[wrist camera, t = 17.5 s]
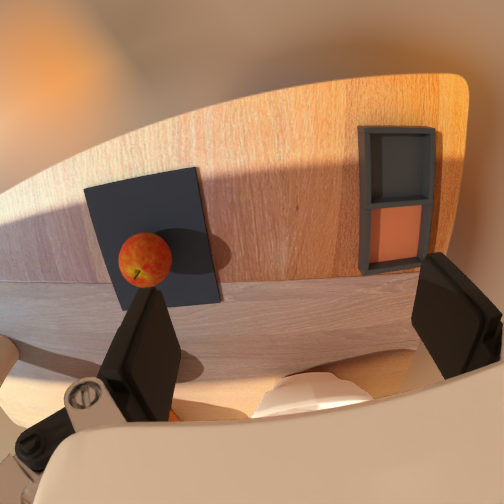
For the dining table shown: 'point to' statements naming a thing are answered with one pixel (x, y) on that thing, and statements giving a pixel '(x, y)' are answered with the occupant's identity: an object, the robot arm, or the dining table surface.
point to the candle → (7, 357)
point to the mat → (157, 233)
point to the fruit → (145, 259)
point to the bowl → (309, 394)
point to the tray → (395, 196)
